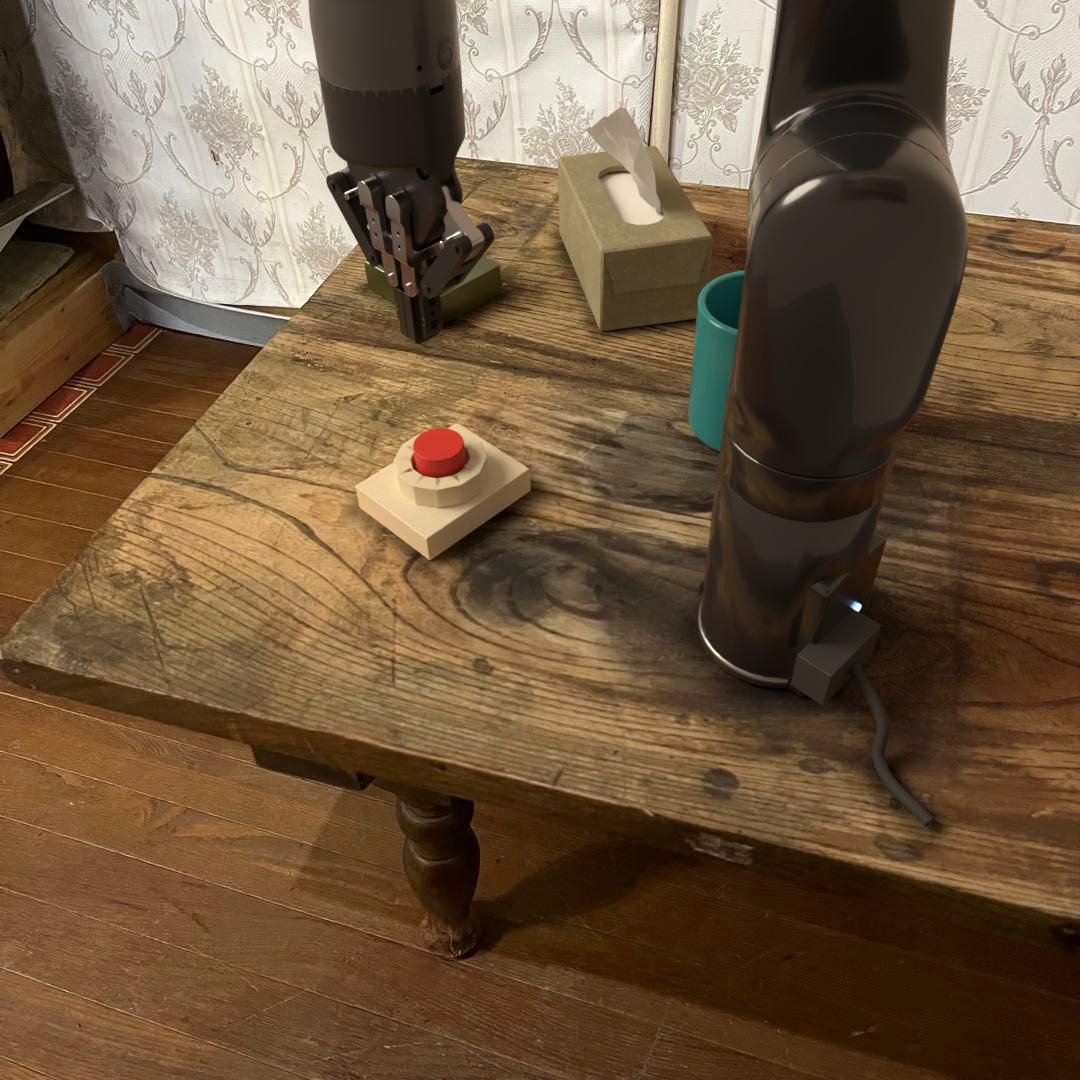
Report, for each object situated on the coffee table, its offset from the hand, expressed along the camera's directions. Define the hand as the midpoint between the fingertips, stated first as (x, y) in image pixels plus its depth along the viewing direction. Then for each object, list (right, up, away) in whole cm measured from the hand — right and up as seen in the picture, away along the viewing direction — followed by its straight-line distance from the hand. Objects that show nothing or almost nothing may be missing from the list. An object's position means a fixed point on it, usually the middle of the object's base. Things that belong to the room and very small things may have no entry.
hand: (422, 335), depth 67 cm
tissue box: (+16, +12, +32) cm, 38 cm away
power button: (0, -8, +8) cm, 11 cm away
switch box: (+1, -10, +10) cm, 15 cm away
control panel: (-2, +10, +31) cm, 33 cm away
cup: (+24, -5, +14) cm, 28 cm away
